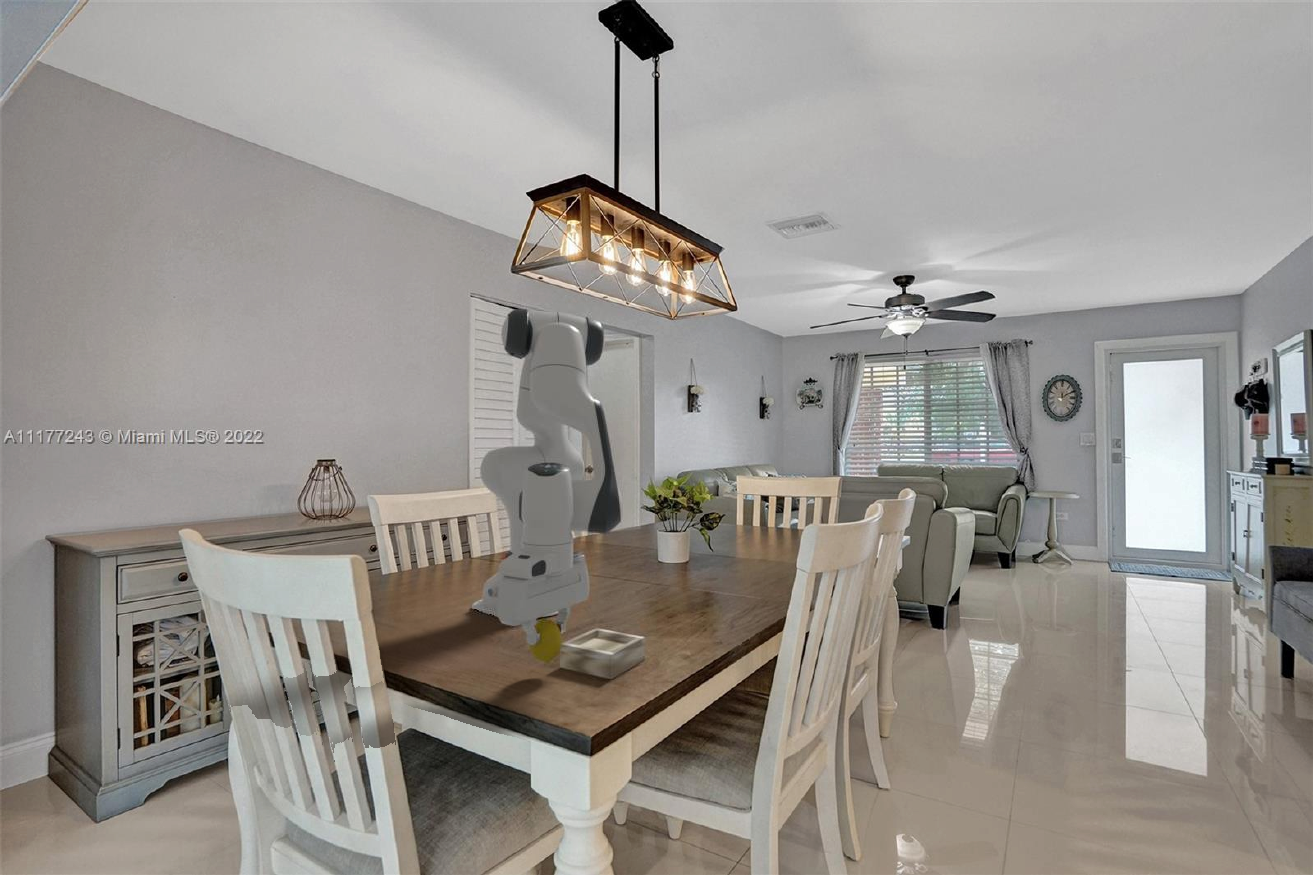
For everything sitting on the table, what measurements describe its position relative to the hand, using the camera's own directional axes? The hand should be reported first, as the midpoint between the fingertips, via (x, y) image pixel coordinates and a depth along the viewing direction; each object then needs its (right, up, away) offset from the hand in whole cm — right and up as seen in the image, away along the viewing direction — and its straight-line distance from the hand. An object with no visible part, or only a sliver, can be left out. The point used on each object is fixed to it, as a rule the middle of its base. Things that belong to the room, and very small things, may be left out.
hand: (546, 638), depth 109 cm
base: (+9, -7, +6) cm, 13 cm away
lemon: (0, -5, 0) cm, 5 cm away
